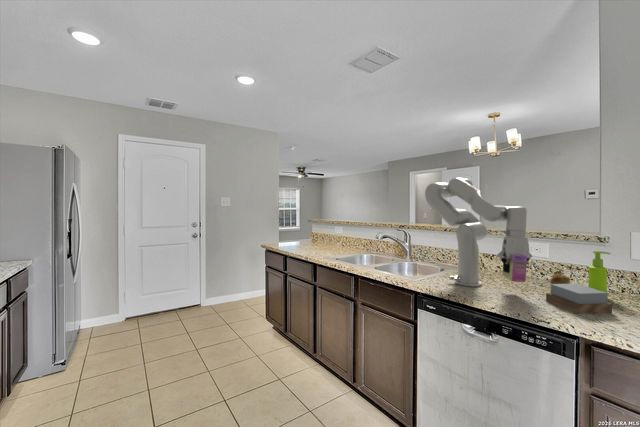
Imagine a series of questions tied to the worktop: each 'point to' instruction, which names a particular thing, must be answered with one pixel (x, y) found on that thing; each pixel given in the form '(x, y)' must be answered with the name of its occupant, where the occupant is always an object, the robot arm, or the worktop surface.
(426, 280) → the worktop surface
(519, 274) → the box
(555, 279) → the onion
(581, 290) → the tower top
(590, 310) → the tower base
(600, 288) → the soap dispenser
